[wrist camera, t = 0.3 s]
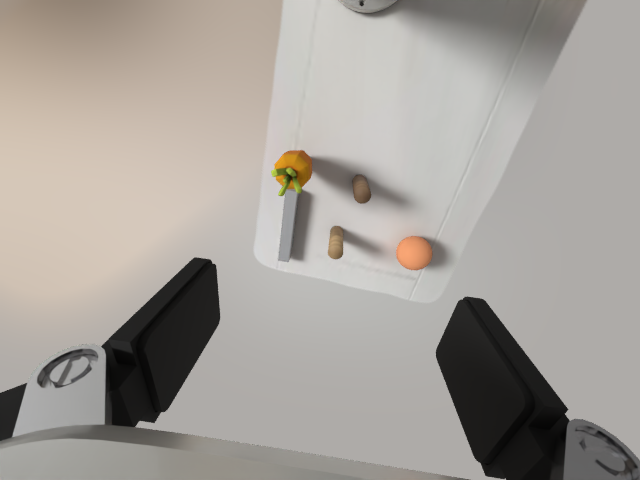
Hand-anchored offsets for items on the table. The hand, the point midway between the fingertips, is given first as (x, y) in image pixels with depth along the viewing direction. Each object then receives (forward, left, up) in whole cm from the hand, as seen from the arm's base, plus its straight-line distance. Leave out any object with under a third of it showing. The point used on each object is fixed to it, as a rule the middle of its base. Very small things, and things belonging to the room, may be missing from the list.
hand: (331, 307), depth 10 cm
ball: (+13, +16, -33) cm, 39 cm away
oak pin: (+13, +2, -36) cm, 38 cm away
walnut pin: (+3, +4, -36) cm, 36 cm away
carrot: (+1, -6, -36) cm, 37 cm away
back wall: (+13, -7, -36) cm, 39 cm away
